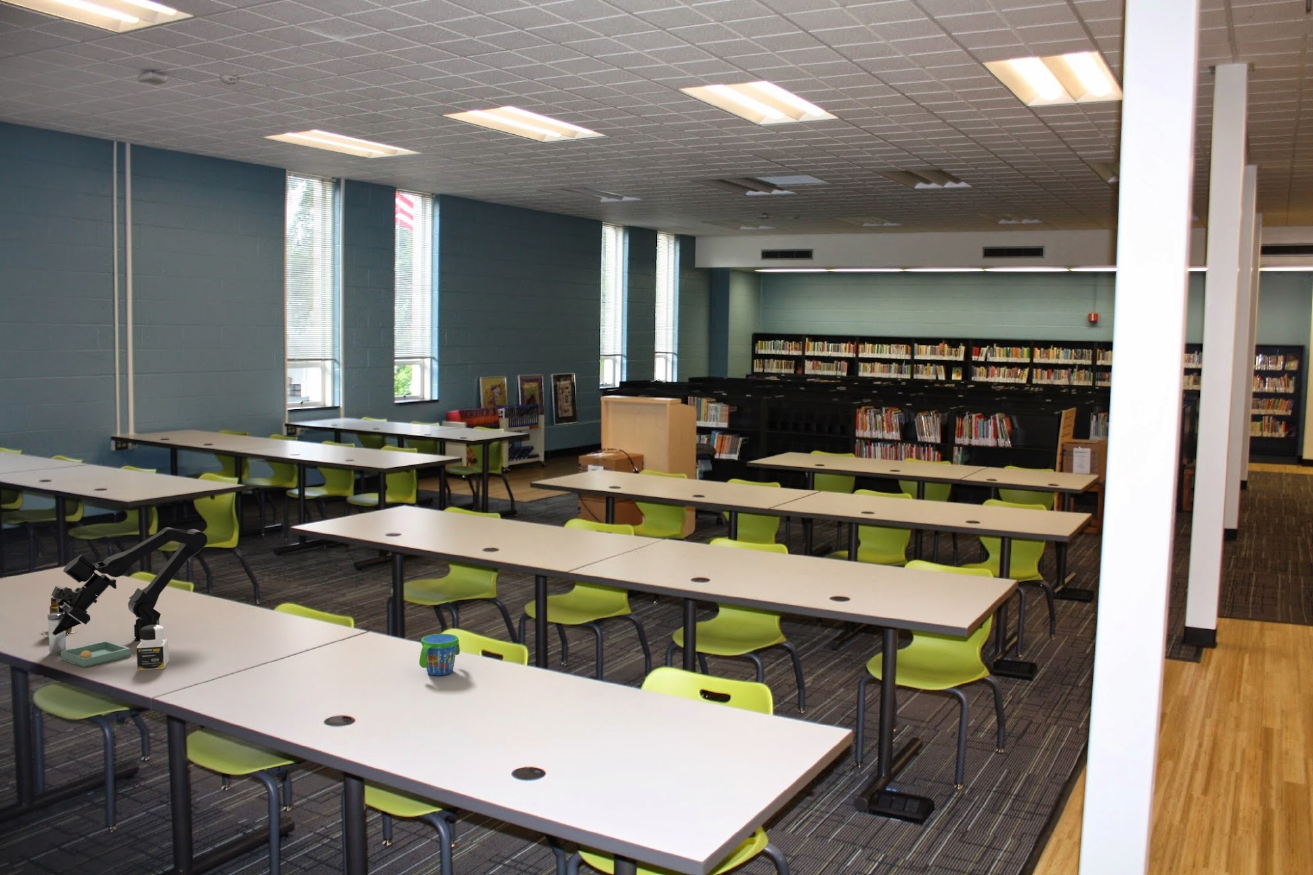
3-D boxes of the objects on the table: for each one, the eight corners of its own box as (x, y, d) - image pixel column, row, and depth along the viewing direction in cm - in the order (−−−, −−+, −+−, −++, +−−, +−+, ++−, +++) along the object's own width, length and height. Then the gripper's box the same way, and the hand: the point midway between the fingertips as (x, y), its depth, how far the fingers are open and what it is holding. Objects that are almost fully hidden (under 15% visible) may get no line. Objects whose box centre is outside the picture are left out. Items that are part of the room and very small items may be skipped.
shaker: (68, 650, 314) (67, 612, 312) (63, 654, 309) (61, 616, 308) (52, 651, 313) (50, 612, 312) (46, 655, 308) (44, 616, 307)
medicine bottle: (137, 670, 295) (135, 630, 294) (142, 663, 302) (141, 623, 301) (164, 669, 297) (162, 628, 296) (168, 661, 304) (167, 622, 303)
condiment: (76, 633, 332) (74, 597, 331) (46, 638, 326) (44, 601, 325) (69, 628, 337) (68, 592, 336) (40, 633, 332) (39, 597, 330)
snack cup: (446, 662, 306) (446, 629, 305) (472, 668, 300) (472, 635, 299) (407, 676, 293) (406, 641, 292) (433, 683, 287) (433, 647, 286)
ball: (93, 658, 304) (92, 648, 304) (89, 661, 301) (89, 651, 301) (82, 659, 303) (81, 649, 303) (78, 662, 300) (78, 652, 300)
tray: (107, 648, 316) (106, 640, 316) (130, 656, 308) (130, 648, 308) (61, 659, 305) (60, 651, 304) (84, 667, 297) (84, 659, 297)
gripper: (62, 570, 318) (22, 611, 312) (76, 581, 304) (35, 624, 298) (91, 591, 324) (53, 631, 318) (106, 603, 310) (67, 645, 304)
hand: (51, 632), depth 309 cm, fingers closed on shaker, 4 cm apart
